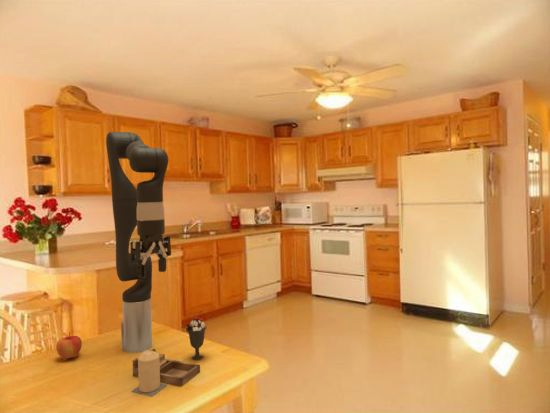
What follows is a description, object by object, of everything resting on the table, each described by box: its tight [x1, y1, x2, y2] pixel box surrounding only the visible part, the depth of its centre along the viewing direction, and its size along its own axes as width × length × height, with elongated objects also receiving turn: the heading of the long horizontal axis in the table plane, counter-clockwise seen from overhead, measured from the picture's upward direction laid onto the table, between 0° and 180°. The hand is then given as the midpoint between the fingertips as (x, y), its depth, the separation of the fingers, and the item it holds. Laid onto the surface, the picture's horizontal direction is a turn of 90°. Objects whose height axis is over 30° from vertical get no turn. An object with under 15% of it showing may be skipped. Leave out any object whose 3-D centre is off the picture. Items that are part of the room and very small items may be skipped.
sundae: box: [185, 310, 208, 361], centre depth 122 cm, size 7×7×15 cm
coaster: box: [130, 382, 168, 397], centre depth 103 cm, size 7×6×1 cm
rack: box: [132, 348, 201, 387], centre depth 111 cm, size 17×9×5 cm, turn 67°
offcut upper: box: [158, 353, 166, 363], centre depth 113 cm, size 4×5×2 cm
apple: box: [55, 332, 83, 361], centre depth 125 cm, size 7×7×8 cm
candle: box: [137, 349, 161, 393], centre depth 103 cm, size 6×6×10 cm
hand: (152, 274), depth 109 cm, fingers open, 8 cm apart
